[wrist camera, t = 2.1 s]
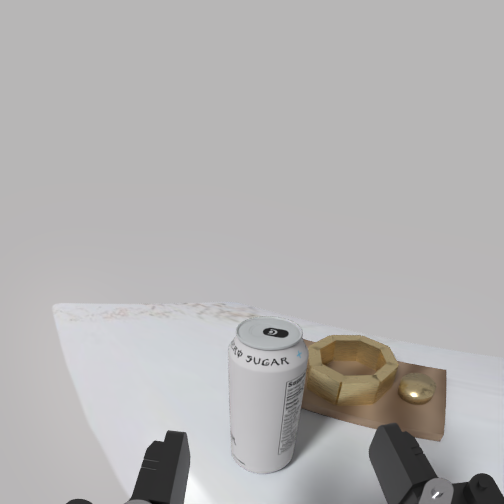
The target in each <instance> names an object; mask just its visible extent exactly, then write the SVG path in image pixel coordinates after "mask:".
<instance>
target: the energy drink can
mask: <svg viewBox="0 0 504 504" xmlns="http://www.w3.org/2000/svg"><path fill="white" fill-rule="evenodd" d="M302 335H303V332H302V329H301V327H300V326H299V325H298V324H296V323H295V322H293V321H291V320H288V319H285V318H280V317H273V316H262V317H255V318H250V319H248V320H245V321H243V322H242V323H240V324H239V325H238V327H237V329H236V336H235V338H234V339H233V341H232V342H231V344H230V345H229V348H228V369H229V403H230V430H231V452H232V456H233V459H234V460H235V462H236V463H237V464H238V465H239V466H240V467H242V468H244V469H246V470H248V471H250V472H252V473H257V474H268V473H272V472H275V471H277V470H280V469H282V468H283V467H285V466H286V465H287V464H288V463H289V462H290V460H291V458H292V456H293V451H294V446H295V440H296V435H297V429H298V423H299V417H300V411H301V404H302V398H303V391H304V384H305V377H306V370H307V363H308V355H309V352H308V348H307V346H306V344H305V342H304V340H303V338H302Z"/></svg>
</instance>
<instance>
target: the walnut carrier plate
mask: <svg viewBox="0 0 504 504" xmlns="http://www.w3.org/2000/svg"><path fill="white" fill-rule="evenodd" d="M303 340H304V342H305V344H306V346H307V348H308V347H309V346H310V345H312V344H314V343H316V342H312V341H308V340H305V339H303ZM397 362H398V364H399V365H398V369H397V372H396V376H395V379H394V382H393V385H392V388H391V389H390V390H389V391H388V392H387V393H386V394H385V395H384V396H383V397H381V398H380V399H379V400H378V401H377V402H376V403H375V404H373V405H358V406H337V404H336V405H333V404H331V403H330V402H328V401H326V400H325V399H323V398H321V397H320V396H318V395H316V394H315V393H313V392H311V391H310V390H308V388H307V387H306V377H305V384H304V391H303V398H302V404H301V408H303V409H306V410H309V411H312V412H315V413H319V414H322V415H325V416H329V417H332V418H335V419H339V420H343V421H346V422H350V423H354V424H357V425H361V426H365V427H369V428H374V429H377V428H378V427H379V426H380V425H385V424H390V423H397V424H398V425H399V427H400V429H401V431H402V432H405V431H407V432H408V433H410V434H411V435H412V436H413V437H416V438H422V439H428V440H434V441H440V440H441V438H442V437H443V435H444V425H445V409H446V370H442V369H437V368H431V367H425V366H420V365H414V364H409V363H404V362H399V361H397ZM325 366H327V367H329V368H331V369H333V370H335V371H336V372H338V373H340V374H342V375H344V376H358V375H374V374H375V373H376V371H375V370H374V369H372V368H369V367H367V366H365V365H363V364H361V363H359V362H357V361H332V362H330V363H328V364H327V365H325ZM410 373H420V374H424V375H427V376H429V377H430V378H432V379H433V380H434V382H435V383H436V390H435V392H434V395H433V397H432V399H431V400H430V401H429V402H428V403H426V404H423V405H413V404H410V403H407V402H405V401H404V400H402V399H401V398H400V396H399V395H398V387H399V384H400V381H401V379H402V377H403V376H405V375H407V374H410Z"/></svg>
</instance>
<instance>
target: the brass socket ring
mask: <svg viewBox="0 0 504 504" xmlns="http://www.w3.org/2000/svg"><path fill="white" fill-rule="evenodd" d="M308 352H309V355H308V363H307V370H306V387H307V388H308V390H310V391H311V392H313V393H315V394H316V395H318V396H320V397H321V398H323V399H325V400H326V401H328V402H330V403H331V404H333V405H336V404H337V406H358V405H373V404H375V403H376V402H377V401H378V400H379V399H380V398H381V397H383V396H384V395H385V394H386V393H387V392H388V391H389V390H390V389H391V388H392V385H393V382H394V379H395V376H396V372H397V369H398V365H399V364H398V362H397V361H396V359H395V357H394V355H393V353H392V351H391V349H390V347H388V346H386V345H384V344H382V343H379V342H377V341H374V340H372V339H369V338H367V337H365V336H362V337H361V335H331V336H330V335H329V336H328V337H326V338H324V339H322V340H320V341H318V342H316V343H314V344H312V345H310V346H309V347H308ZM332 361H357V362H359V363H361V364H363V365H365V366H367V367H369V368H372V369H374V370H375V371H376V373H375V374H374V375H358V376H344V375H342V374H340V373H338V372H336V371H335V370H333V369H331V368H329V367H327V366H325V365H327V364H328V363H330V362H332ZM435 390H436V383H435V382H434V380H433V379H432V378H430V377H429V376H427V375H424V374H420V373H410V374H407V375H405V376H403V377H402V379H401V381H400V384H399V387H398V395H399V396H400V398H401V399H402V400H404V401H405V402H407V403H410V404H413V405H423V404H426V403H428V402H429V401H430V400H431V399H432V397H433V395H434V392H435Z"/></svg>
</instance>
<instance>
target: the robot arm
mask: <svg viewBox="0 0 504 504" xmlns="http://www.w3.org/2000/svg"><path fill="white" fill-rule="evenodd" d="M369 457H370V461H371V463H372V465H373V468H374V470H375V473H376V475H377V478H378V480H379V483H380V485H381V488H382V490H383V493H384V495H385V498H386V501H387V503H388V504H504V497H503V495H502V493H501V491H500V490H499V488H498V486H497V485H496V483H495V481H494V480H493V478H492V477H491V476H490V475H488V474H484V473H480V474H477V475H475V476H473V477H472V479H471V480H470V481H469V482H464V483H455V484H451V483H450V482H449V481H448V480H446V479H443V478H438V477H437V475H436V474H435V472H434V470H433V468H432V466H431V465H430V463H429V461H428V460H427V458H426V456H425V454H423V451H422V449H421V447H419V444H418V442H417V441H416V439H415V437H413V436H412V435H411V434H410V433H408V432H407V431H405V432H402V431H401V429H400V427H399V425H398V424H397V423H390V424H385V425H380V426H379V427H378V428H377V431H376V433H375V436H374V438H373V440H372V443H371V445H370V448H369ZM189 468H190V451H189V445H188V439H187V434H186V432H177V431H169V430H168V431H167V433H166V436H165V440H164V442H161V441H154V442H153V443H152V444H151V445H150V446H149V447H148V448H147V450H146V453H145V456H144V460H143V462H142V466H141V469H140V472H139V475H138V478H137V481H136V485H135V488H134V491H133V494H132V497H131V498H130V500H129V501H128V502H126V503H125V504H184V498H185V492H186V485H187V479H188V473H189ZM66 504H92V503H91V502H89V501H87V500H83V499H74V500H71V501H69V502H68V503H66Z"/></svg>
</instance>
